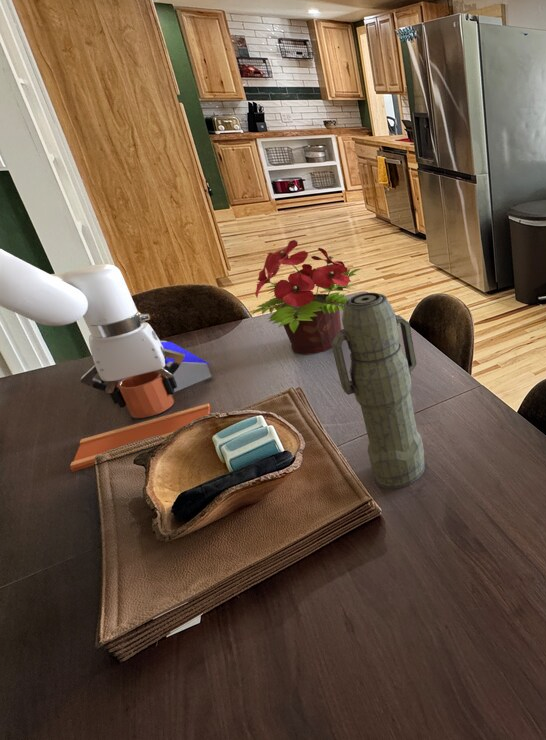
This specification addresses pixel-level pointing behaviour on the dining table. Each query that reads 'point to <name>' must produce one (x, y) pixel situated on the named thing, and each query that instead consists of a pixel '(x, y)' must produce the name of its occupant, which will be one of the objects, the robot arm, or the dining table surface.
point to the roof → (186, 367)
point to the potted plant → (306, 299)
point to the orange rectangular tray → (133, 435)
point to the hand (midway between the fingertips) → (148, 397)
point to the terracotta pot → (145, 394)
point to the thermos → (382, 386)
